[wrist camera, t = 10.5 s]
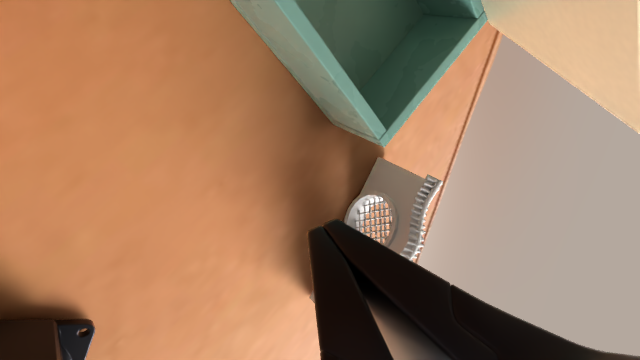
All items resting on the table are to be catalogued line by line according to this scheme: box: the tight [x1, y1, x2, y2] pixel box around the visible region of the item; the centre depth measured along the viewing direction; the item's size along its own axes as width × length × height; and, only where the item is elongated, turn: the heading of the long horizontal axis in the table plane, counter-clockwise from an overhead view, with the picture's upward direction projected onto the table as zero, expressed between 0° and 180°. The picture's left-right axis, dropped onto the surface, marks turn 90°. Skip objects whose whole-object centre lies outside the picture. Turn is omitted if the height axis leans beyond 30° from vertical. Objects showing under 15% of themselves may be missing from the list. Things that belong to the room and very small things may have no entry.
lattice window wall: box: [310, 157, 443, 303], centre depth 27 cm, size 12×2×6 cm, turn 150°
